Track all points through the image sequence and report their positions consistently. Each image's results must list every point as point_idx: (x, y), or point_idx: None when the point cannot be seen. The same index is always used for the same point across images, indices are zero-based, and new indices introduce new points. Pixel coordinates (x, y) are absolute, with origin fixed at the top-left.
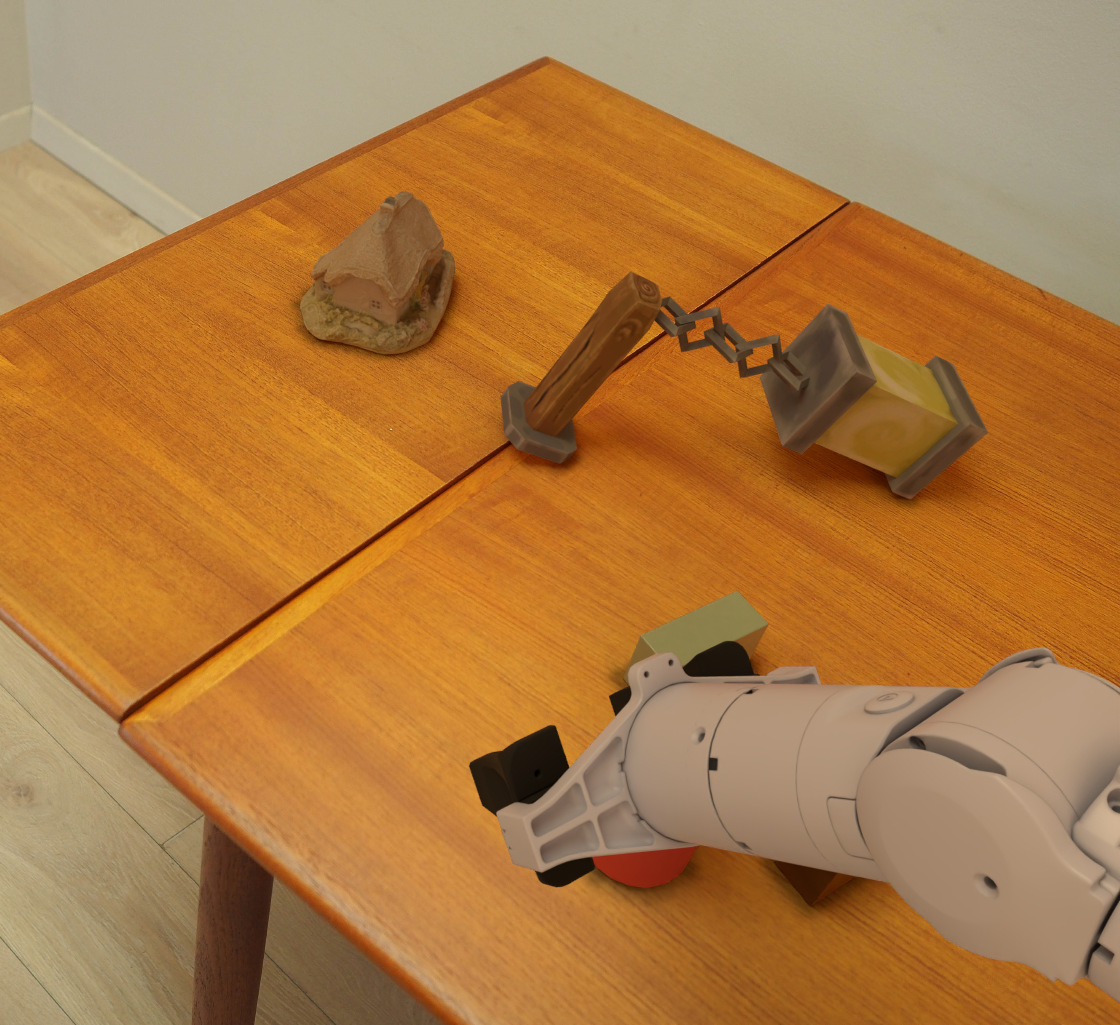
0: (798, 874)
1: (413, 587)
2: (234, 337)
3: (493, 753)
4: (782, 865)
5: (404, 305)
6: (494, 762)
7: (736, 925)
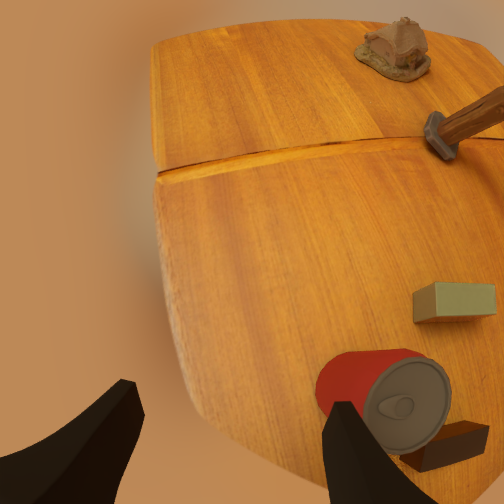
0: None
1: (334, 177)
2: (321, 46)
3: (106, 407)
4: None
5: (401, 61)
6: (41, 440)
7: None
